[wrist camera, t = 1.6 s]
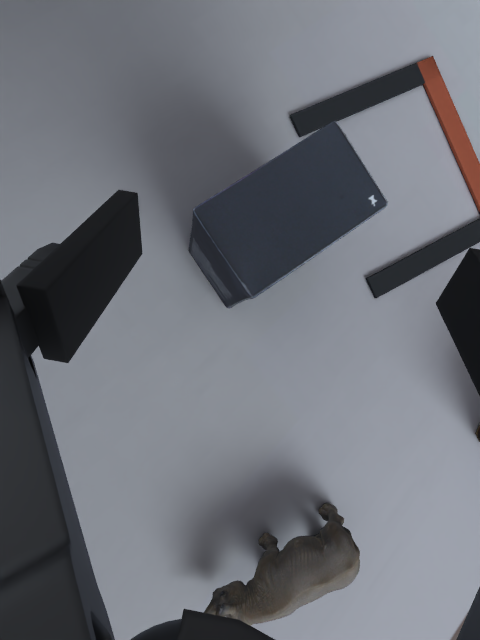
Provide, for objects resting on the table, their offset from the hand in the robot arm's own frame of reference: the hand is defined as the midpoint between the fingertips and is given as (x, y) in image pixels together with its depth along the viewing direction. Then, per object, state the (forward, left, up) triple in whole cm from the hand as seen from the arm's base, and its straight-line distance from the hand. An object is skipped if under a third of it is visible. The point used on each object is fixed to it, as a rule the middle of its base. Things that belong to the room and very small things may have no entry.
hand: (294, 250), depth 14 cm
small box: (-2, +4, -16) cm, 17 cm away
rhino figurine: (+22, -7, -16) cm, 28 cm away
